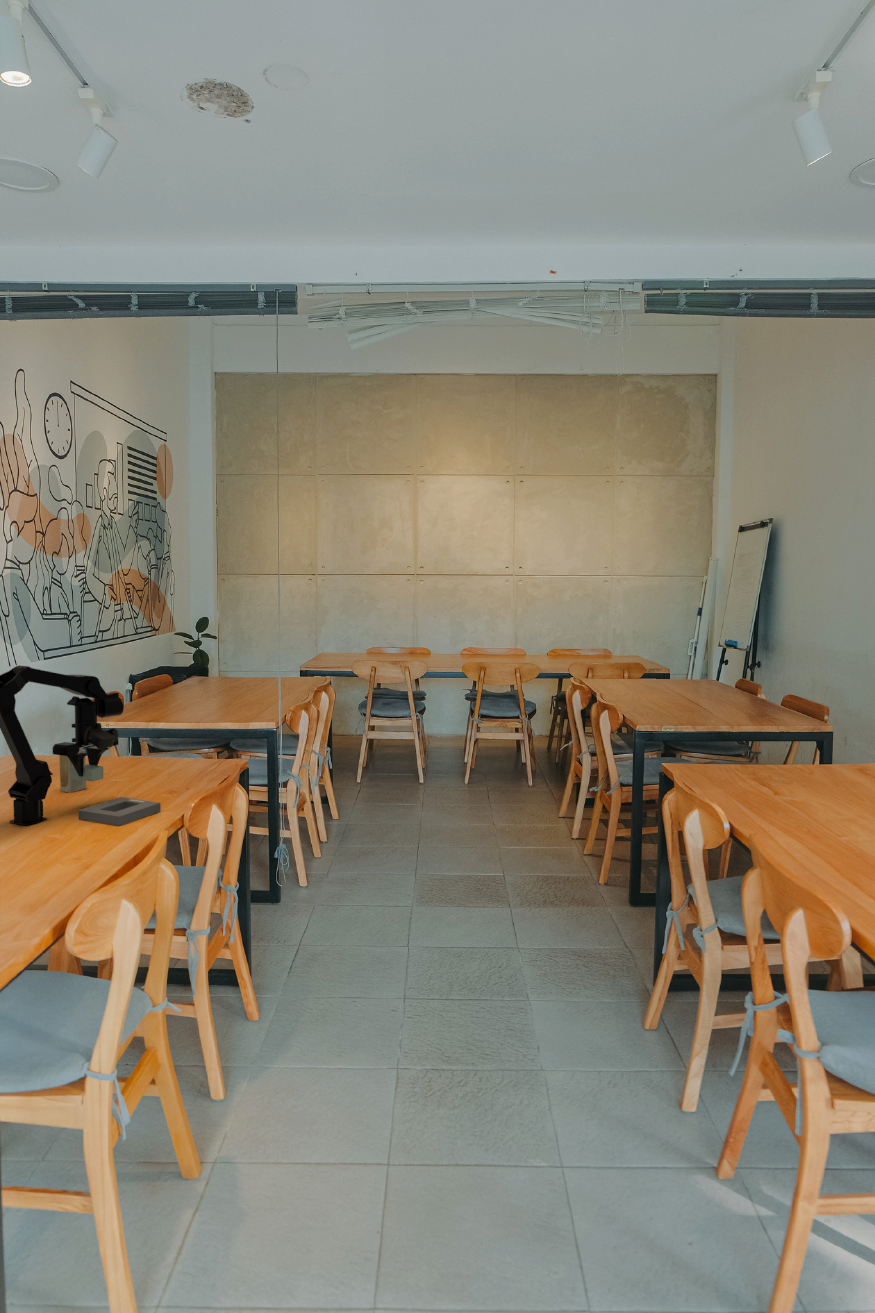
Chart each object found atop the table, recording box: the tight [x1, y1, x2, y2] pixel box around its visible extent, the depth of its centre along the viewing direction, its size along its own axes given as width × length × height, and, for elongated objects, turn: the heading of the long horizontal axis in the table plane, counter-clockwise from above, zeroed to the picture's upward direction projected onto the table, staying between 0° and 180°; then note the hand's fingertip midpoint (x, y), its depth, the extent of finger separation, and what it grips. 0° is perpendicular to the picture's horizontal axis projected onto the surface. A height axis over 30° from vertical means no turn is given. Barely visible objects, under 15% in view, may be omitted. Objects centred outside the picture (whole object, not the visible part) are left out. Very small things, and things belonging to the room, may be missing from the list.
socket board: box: [77, 796, 162, 827], centre depth 221 cm, size 16×14×3 cm
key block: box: [70, 763, 104, 783], centre depth 227 cm, size 4×8×4 cm, turn 68°
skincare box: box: [58, 749, 87, 794], centre depth 247 cm, size 6×4×12 cm
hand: (87, 774), depth 227 cm, fingers closed on key block, 4 cm apart
